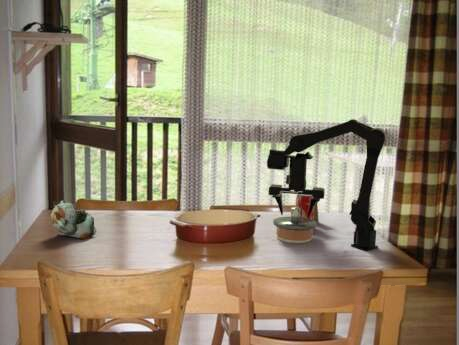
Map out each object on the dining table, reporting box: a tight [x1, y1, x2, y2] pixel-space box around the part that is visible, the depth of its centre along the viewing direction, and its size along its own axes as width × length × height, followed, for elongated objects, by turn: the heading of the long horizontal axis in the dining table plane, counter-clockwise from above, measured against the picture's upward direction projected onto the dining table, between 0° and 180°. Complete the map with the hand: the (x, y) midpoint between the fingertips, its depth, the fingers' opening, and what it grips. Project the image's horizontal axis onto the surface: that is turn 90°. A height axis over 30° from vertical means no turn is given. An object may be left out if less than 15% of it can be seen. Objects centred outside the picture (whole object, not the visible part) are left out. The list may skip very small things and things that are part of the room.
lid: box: [272, 206, 318, 230], centre depth 182 cm, size 15×15×6 cm
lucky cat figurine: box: [50, 200, 97, 240], centre depth 177 cm, size 15×12×14 cm
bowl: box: [275, 226, 314, 244], centre depth 183 cm, size 12×12×5 cm
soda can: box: [294, 194, 315, 220], centre depth 196 cm, size 7×7×13 cm
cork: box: [314, 201, 320, 225], centre depth 205 cm, size 6×6×11 cm
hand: (295, 215), depth 182 cm, fingers open, 9 cm apart
